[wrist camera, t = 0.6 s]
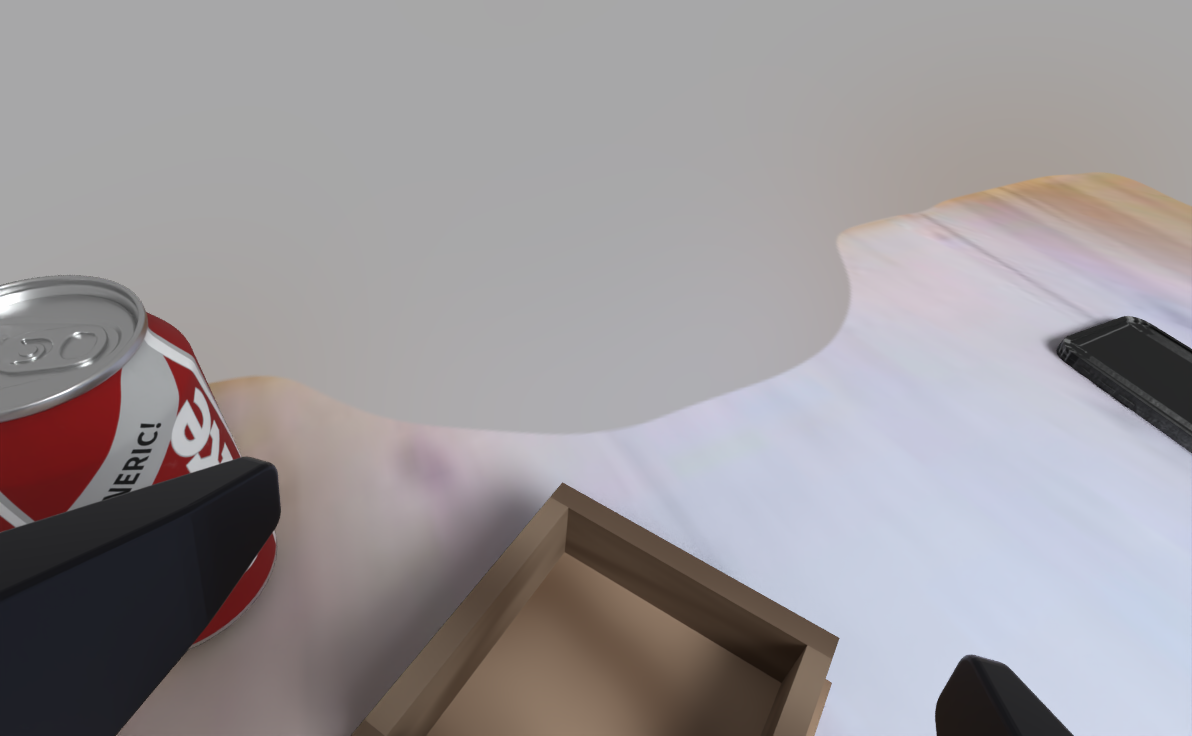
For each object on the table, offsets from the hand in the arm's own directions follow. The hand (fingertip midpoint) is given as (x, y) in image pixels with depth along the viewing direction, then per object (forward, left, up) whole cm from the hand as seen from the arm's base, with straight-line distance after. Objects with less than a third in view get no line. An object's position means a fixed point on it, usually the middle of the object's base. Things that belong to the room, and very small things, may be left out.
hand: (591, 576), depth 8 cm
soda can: (0, +16, -16) cm, 23 cm away
